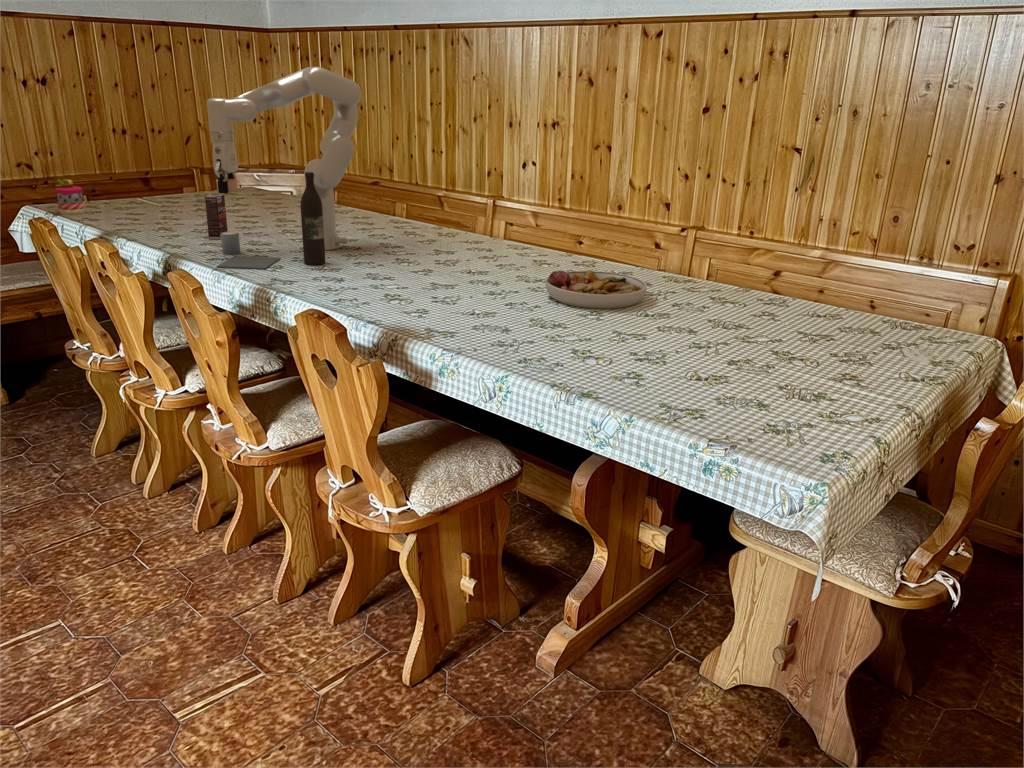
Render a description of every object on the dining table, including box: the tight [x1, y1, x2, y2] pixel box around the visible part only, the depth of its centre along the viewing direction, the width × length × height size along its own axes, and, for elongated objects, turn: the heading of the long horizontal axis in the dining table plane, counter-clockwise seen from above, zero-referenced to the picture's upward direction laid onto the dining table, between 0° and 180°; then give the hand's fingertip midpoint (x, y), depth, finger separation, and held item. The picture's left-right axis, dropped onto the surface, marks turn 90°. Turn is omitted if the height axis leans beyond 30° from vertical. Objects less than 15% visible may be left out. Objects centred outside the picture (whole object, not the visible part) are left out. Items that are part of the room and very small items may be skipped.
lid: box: [215, 177, 239, 193], centre depth 269 cm, size 7×7×4 cm
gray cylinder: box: [220, 231, 241, 255], centre depth 278 cm, size 6×6×7 cm
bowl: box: [544, 269, 648, 310], centre depth 234 cm, size 30×30×8 cm
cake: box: [54, 178, 86, 216], centre depth 343 cm, size 10×11×15 cm
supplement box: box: [204, 193, 229, 240], centre depth 302 cm, size 9×5×16 cm, turn 179°
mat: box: [216, 255, 282, 271], centre depth 264 cm, size 16×16×1 cm
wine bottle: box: [300, 171, 326, 266], centre depth 262 cm, size 7×7×30 cm
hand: (227, 191), depth 270 cm, fingers closed on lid, 6 cm apart
